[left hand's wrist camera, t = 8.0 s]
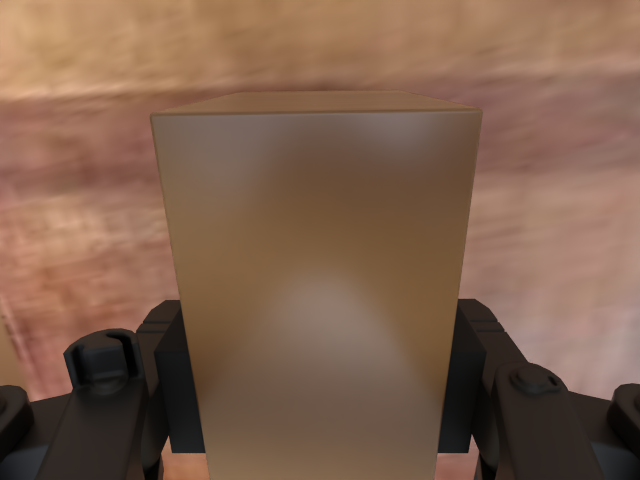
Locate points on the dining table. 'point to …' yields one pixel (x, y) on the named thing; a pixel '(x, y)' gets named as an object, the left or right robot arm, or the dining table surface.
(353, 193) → the bar
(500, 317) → the dining table surface
